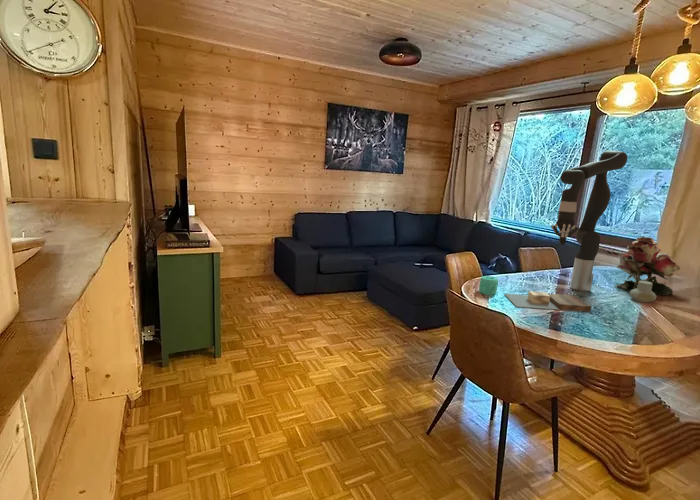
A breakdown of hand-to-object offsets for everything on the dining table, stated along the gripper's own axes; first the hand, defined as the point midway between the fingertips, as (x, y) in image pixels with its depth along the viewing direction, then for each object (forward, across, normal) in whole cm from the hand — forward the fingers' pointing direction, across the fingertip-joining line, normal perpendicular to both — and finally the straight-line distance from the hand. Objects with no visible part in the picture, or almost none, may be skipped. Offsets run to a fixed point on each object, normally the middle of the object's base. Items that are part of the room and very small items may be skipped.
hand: (561, 244), depth 200 cm
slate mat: (+27, +17, +15) cm, 35 cm away
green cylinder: (+27, +35, +4) cm, 45 cm away
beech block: (+26, +14, +15) cm, 33 cm away
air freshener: (+27, -44, 0) cm, 52 cm away
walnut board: (+27, 0, +15) cm, 31 cm away
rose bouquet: (+27, -56, -24) cm, 67 cm away
